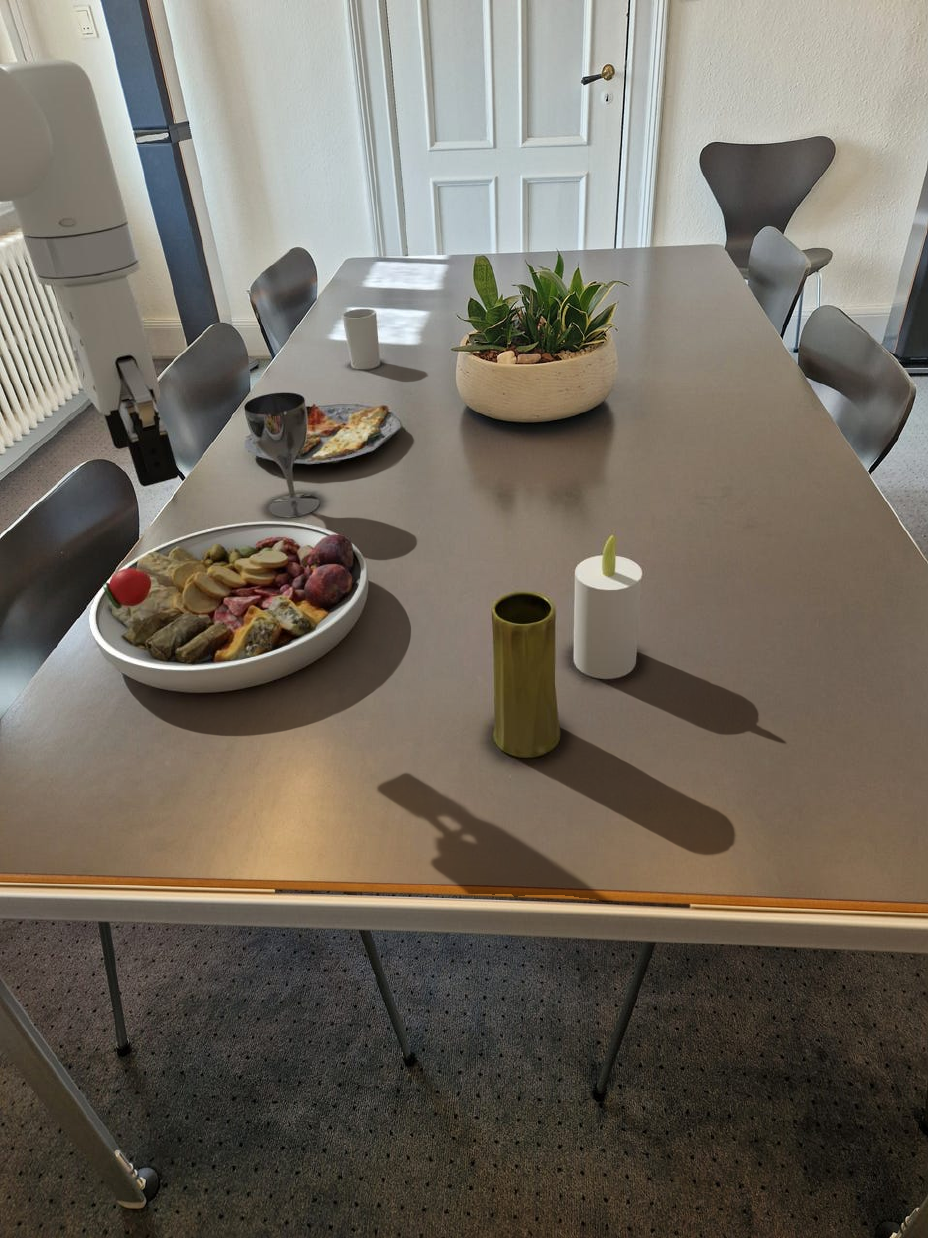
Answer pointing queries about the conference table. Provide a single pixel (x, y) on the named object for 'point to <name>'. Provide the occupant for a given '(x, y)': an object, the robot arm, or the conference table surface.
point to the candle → (606, 614)
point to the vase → (524, 674)
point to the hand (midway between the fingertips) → (145, 461)
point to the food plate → (340, 432)
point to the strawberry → (128, 587)
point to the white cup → (362, 338)
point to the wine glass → (282, 443)
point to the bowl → (234, 607)
